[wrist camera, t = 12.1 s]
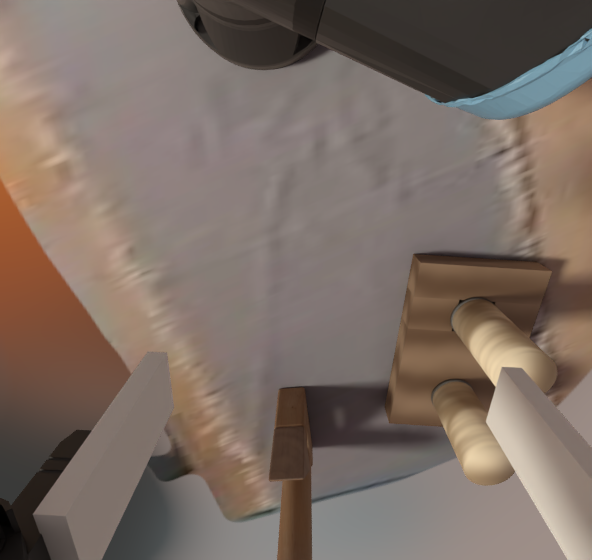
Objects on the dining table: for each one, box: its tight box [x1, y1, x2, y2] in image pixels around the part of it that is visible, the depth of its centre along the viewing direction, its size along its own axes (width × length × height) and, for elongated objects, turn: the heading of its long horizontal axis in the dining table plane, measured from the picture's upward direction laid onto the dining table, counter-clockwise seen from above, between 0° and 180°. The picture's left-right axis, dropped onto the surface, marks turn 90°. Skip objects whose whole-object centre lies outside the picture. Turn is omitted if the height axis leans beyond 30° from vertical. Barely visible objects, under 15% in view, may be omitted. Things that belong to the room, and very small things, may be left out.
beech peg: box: [450, 297, 557, 394], centre depth 38 cm, size 5×5×14 cm
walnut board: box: [385, 254, 552, 486], centre depth 40 cm, size 22×14×14 cm, turn 177°
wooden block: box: [269, 387, 313, 560], centre depth 44 cm, size 4×11×18 cm, turn 7°
